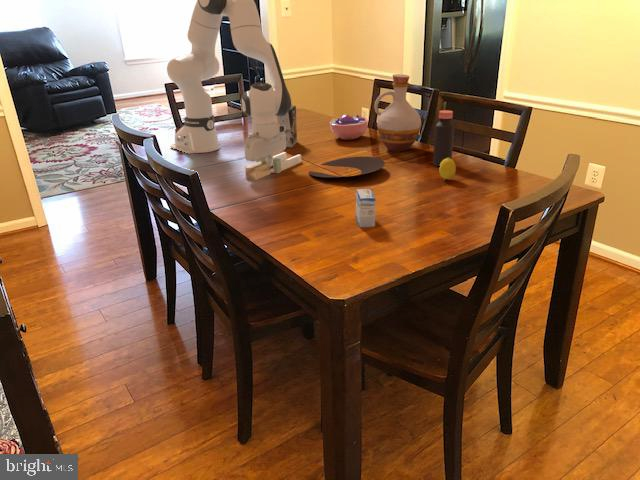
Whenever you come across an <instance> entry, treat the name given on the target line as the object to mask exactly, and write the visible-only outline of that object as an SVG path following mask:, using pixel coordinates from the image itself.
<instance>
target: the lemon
mask: <svg viewBox="0 0 640 480" xmlns="http://www.w3.org/2000/svg"><path fill="white" fill-rule="evenodd" d="M438 168H439V169H438V172H439V175H440V176H441V178H442V179H444V180H445V179H448V180H449V179H451V178H452V177H454V176H455V174H456V170H457V166H456V163H455V161H454V160H453V158H452V159H450V158H446V159H444V160H443V161H442V162H441V163H440V167H438Z"/></svg>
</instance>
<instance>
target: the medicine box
mask: <svg viewBox="0 0 640 480" xmlns="http://www.w3.org/2000/svg"><path fill="white" fill-rule="evenodd" d="M376 203H377V202H376V197H375V195H374V193H373V190H372V189H371V188H360V189H356V191H355V218H356V221H357V224H358V226H359V228H375V226H376Z"/></svg>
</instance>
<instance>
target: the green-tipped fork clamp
mask: <svg viewBox="0 0 640 480" xmlns="http://www.w3.org/2000/svg"><path fill="white" fill-rule="evenodd" d="M266 160H267V159H266ZM257 162H262V161H261V160H260V159H259V160H257V161H255V163H257ZM298 164H302V154H296V155H294V156H292V157H289V158H288V157H287V152H286V151H283V152H280V153H278V154H276V155H275V154H274V155H273V159H272V162H271V167H273V169H272V170H273V174H279V173H282V171H285V170H287V169H289V168H292V167H294V166H297V165H298Z"/></svg>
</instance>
